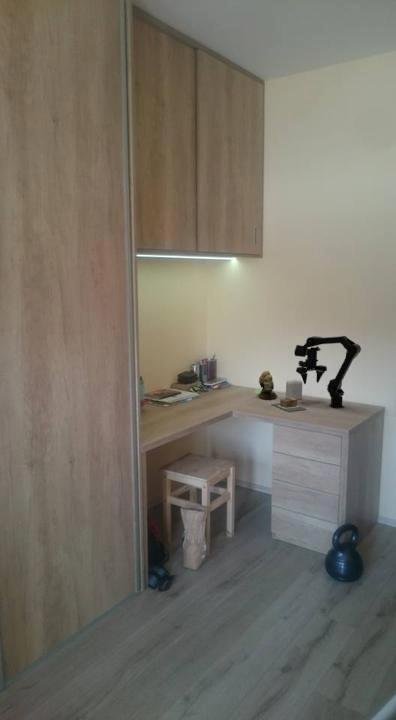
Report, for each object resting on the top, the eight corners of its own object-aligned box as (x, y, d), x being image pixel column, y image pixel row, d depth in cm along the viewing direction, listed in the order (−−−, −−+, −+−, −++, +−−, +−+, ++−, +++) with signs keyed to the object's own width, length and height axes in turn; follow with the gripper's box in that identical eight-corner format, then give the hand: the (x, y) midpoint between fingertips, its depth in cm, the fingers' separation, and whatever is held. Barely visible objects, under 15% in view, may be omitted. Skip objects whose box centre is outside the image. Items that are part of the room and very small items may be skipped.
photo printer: (300, 397, 328) (301, 378, 326) (302, 399, 324) (303, 379, 322) (284, 398, 327) (285, 379, 325) (286, 400, 323) (287, 380, 321)
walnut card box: (285, 408, 301) (285, 400, 300) (280, 405, 306) (280, 398, 305) (296, 406, 304) (297, 399, 303) (291, 404, 309) (291, 397, 308)
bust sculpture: (279, 400, 322) (279, 373, 319) (260, 400, 322) (260, 373, 319) (275, 393, 339) (275, 368, 337) (257, 394, 339) (257, 368, 337)
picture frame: (306, 409, 300) (306, 408, 299) (288, 412, 295) (288, 410, 294) (288, 402, 316) (288, 401, 316) (271, 404, 311) (271, 403, 311)
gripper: (316, 354, 322) (315, 379, 324) (291, 356, 314) (290, 382, 317) (327, 357, 312) (327, 382, 314) (302, 359, 304) (301, 385, 307)
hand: (311, 383), depth 313 cm, fingers open, 9 cm apart
